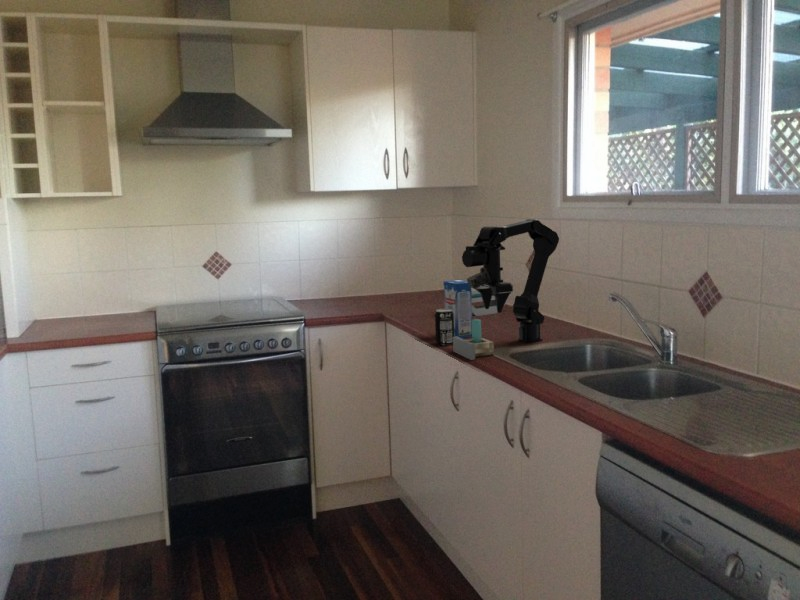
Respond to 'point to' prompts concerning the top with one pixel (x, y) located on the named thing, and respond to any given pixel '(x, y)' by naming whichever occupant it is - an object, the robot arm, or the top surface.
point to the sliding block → (483, 347)
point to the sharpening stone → (481, 309)
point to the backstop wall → (464, 348)
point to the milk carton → (459, 306)
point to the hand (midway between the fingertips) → (493, 310)
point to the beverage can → (444, 326)
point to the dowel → (476, 331)
